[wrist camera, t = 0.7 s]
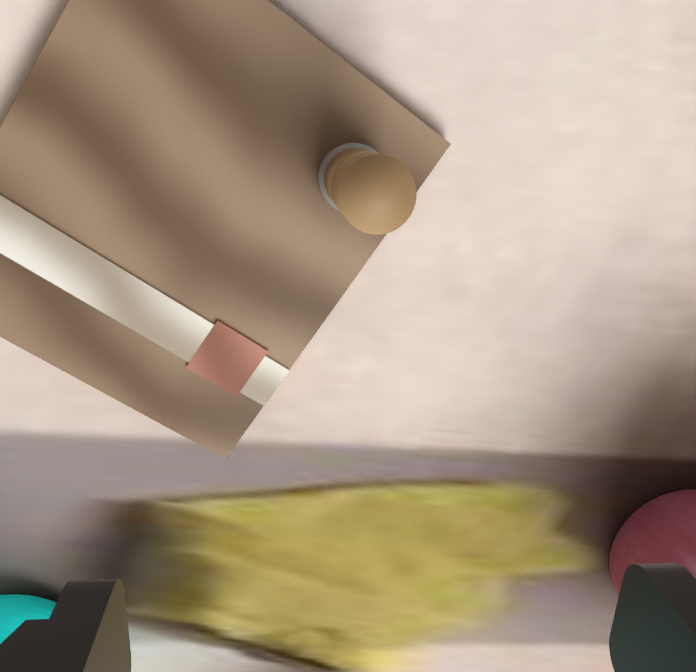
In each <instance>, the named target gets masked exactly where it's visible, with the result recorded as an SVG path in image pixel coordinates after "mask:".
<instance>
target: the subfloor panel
mask: <svg viewBox="0 0 696 672" xmlns="http://www.w3.org/2000/svg"><path fill="white" fill-rule="evenodd" d="M350 142H351V143H360V144H364V145H367V146H369V147H371V148H373V149H374V150H376V151H377V152H378V153H379V154H383V155H386V156H390V157H393V158H395V159H397V160H398V161H400V162H401V163H403V164H404V165H405V166H406V167H407V169H408V170H409V171H410V173H411V174H412V176H413V179H414V182H415V185H416V192H417V191H418V189H419V188H420V186H421V185H422V184H423V182H424V181H425V179H426V178H427V177H428V175H429V174H430V172H431V171H432V170H433V168H434V167H435V165H436V164H437V163H438V161H439V160H440V158H441V157H442V156H443V154H444V153H445V151H446V150H447V149H448V147H449V146H450V143H449V142H448V141H446V140H445V139H444V138H443V137H441V136H440V135H439V134H438V133H436V132H435V131H434V130H432V129H431V128H430V127H429V126H427V125H426V124H425V123H424V122H422V121H421V120H420V119H419V118H417V117H416V116H415V115H413V114H412V113H411V112H410V111H408V110H407V109H406V108H405V107H403V106H402V105H401V104H400V103H398V102H397V101H396V100H394V99H393V98H392V97H391V96H389V95H388V94H387V93H386V92H384V91H383V90H382V89H381V88H379V87H378V86H377V85H375V84H374V83H373V82H372V81H370V80H369V79H368V78H367V77H365V76H364V75H363V74H362V73H360V72H359V71H358V70H356V69H355V68H354V67H353V66H351V65H350V64H349V63H348V62H346V61H345V60H344V59H343V58H341V57H340V56H339V55H338V54H336V53H335V52H334V51H332V50H331V49H330V48H329V47H327V46H326V45H325V44H324V43H322V42H321V41H320V40H319V39H317V38H316V37H315V36H313V35H312V34H311V33H310V32H308V31H307V30H306V29H305V28H303V27H302V26H301V25H300V24H298V23H297V22H296V21H294V20H293V19H292V18H291V17H289V16H288V15H287V14H286V13H284V12H283V11H282V10H281V9H279V8H278V7H277V6H275V5H274V4H273V3H272V2H270V1H269V0H69V1H68V3H67V5H66V7H65V9H64V11H63V12H62V14H61V16H60V18H59V20H58V22H57V23H56V25H55V27H54V29H53V31H52V33H51V35H50V36H49V38H48V40H47V42H46V44H45V46H44V47H43V49H42V51H41V53H40V55H39V57H38V59H37V60H36V62H35V64H34V66H33V68H32V70H31V71H30V73H29V75H28V77H27V79H26V81H25V83H24V84H23V86H22V88H21V90H20V92H19V94H18V95H17V97H16V99H15V101H14V103H13V105H12V107H11V108H10V110H9V112H8V114H7V116H6V118H5V119H4V121H3V123H2V125H1V127H0V337H2V338H4V339H6V340H8V341H9V342H11V343H13V344H15V345H17V346H19V347H20V348H22V349H24V350H26V351H28V352H30V353H32V354H33V355H35V356H37V357H39V358H41V359H43V360H44V361H46V362H48V363H50V364H52V365H54V366H55V367H57V368H59V369H61V370H63V371H65V372H67V373H68V374H70V375H72V376H74V377H76V378H78V379H79V380H81V381H83V382H85V383H87V384H89V385H90V386H92V387H94V388H96V389H98V390H100V391H101V392H103V393H105V394H107V395H109V396H111V397H113V398H114V399H116V400H118V401H120V402H122V403H124V404H125V405H127V406H129V407H131V408H133V409H135V410H136V411H138V412H140V413H142V414H144V415H146V416H148V417H149V418H151V419H153V420H155V421H157V422H159V423H160V424H162V425H164V426H166V427H168V428H170V429H171V430H173V431H175V432H177V433H179V434H181V435H182V436H184V437H186V438H188V439H190V440H192V441H194V442H195V443H197V444H199V445H201V446H203V447H205V448H206V449H208V450H210V451H212V452H214V453H216V454H217V455H219V456H221V457H223V458H225V459H226V458H227V456H228V455H229V453H230V452H231V451H232V449H233V448H234V446H235V445H236V444H237V442H238V441H239V439H240V438H241V437H242V435H243V434H244V432H245V431H246V430H247V428H248V427H249V425H250V424H251V423H252V421H253V420H254V418H255V417H256V416H257V414H258V413H259V411H260V410H261V409H262V407H263V406H265V404H266V403H267V401H268V400H269V399H270V397H271V396H272V394H273V393H274V392H275V390H276V389H277V388H278V386H279V385H280V383H281V382H282V381H283V379H284V378H285V376H286V375H287V374H288V372H289V370H290V368H291V367H292V365H293V364H294V363H295V361H296V360H297V358H298V357H299V356H300V354H301V353H302V351H303V350H304V349H305V347H306V346H307V344H308V343H309V342H310V340H311V339H312V337H313V336H314V335H315V333H316V332H317V330H318V329H319V328H320V326H321V325H322V323H323V322H324V321H325V319H326V318H327V316H328V315H329V314H330V312H331V311H332V309H333V308H334V307H335V305H336V304H337V302H338V301H339V300H340V298H341V297H342V295H343V294H344V293H345V291H346V290H347V288H348V287H349V286H350V284H351V283H352V281H353V280H354V279H355V277H356V276H357V274H358V273H359V272H360V270H361V269H362V267H363V266H364V265H365V263H366V262H367V260H368V259H369V258H370V256H371V255H372V253H373V252H374V251H375V249H376V248H377V247H378V245H379V244H380V242H381V241H382V240H383V238H384V237H385V235H386V234H387V233H386V234H380V235H373V234H367V233H364V232H362V231H359V230H358V229H356V228H355V227H353V226H352V225H351V224H350V223H349V222H348V221H347V219H346V218H345V217H344V215H343V214H342V213H341V212H340V211H338V210H336V209H335V208H333V207H332V206H331V205H330V204H329V203H328V202H327V200H326V199H325V197H324V196H323V194H322V192H321V190H320V187H319V182H318V173H319V168H320V165H321V162H322V160H323V159H324V157H325V156H326V154H327V153H328V152H329V151H330V150H332V149H333V148H334V147H336V146H338V145H341V144H344V143H350Z"/></svg>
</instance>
